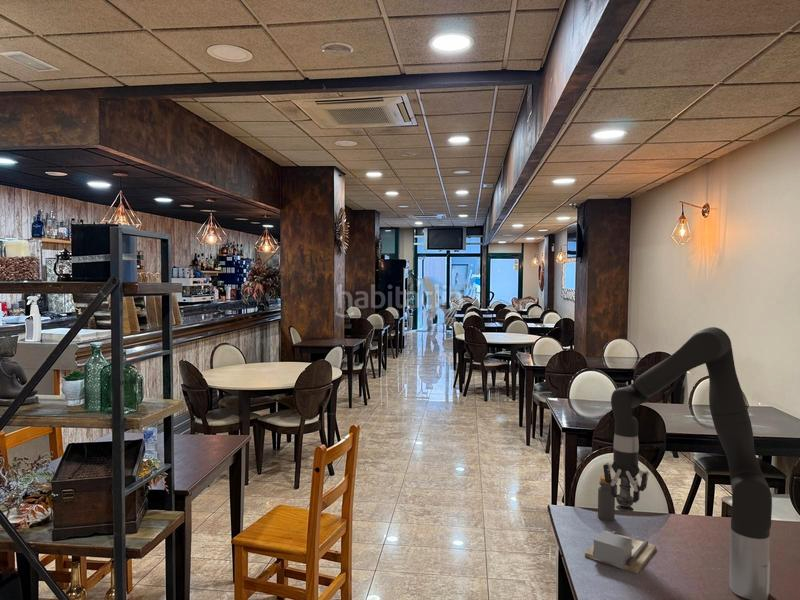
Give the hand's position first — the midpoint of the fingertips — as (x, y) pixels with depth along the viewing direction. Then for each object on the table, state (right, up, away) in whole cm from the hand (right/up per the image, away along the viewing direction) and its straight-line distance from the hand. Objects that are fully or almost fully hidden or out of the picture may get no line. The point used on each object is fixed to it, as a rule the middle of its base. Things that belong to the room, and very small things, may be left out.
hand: (625, 499), depth 178 cm
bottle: (+3, -16, +25) cm, 30 cm away
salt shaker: (0, -3, 0) cm, 3 cm away
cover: (-7, -15, -8) cm, 19 cm away
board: (-2, -17, -2) cm, 17 cm away
